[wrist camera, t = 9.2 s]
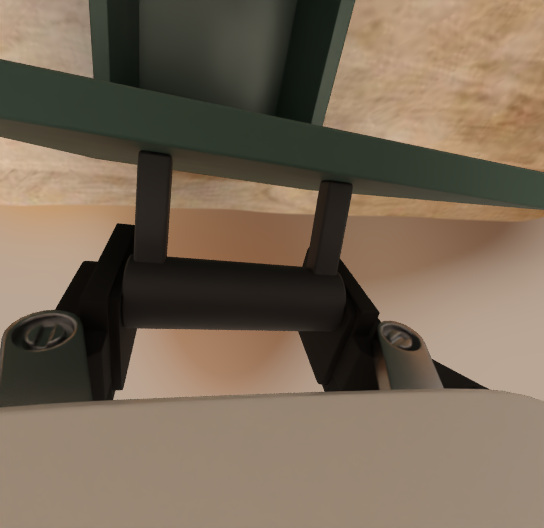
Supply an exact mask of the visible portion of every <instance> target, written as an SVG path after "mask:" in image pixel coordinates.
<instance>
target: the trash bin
mask: <svg viewBox="0 0 544 528" xmlns="http://www.w3.org/2000/svg"><path fill="white" fill-rule="evenodd" d="M354 3H355V0H89V10H90V27H91V44H92V60H93V77H94V79H98V80H103V81H108V82H112V83H117V84H122V85H127V86H132V87H136V88H141V89H146V90H151V91H156V92H160V93H165V94H170V95H175V96H180V97H184V98H189V99H194V100H199V101H204V102H208V103H213V104H218V105H223V106H228V107H232V108H237V109H242V110H247V111H252V112H256V113H261V114H266V115H271V116H276V117H280V118H285V119H290V120H295V121H300V122H304V123H309V124H314V125H319V126H322V125H323V122H324V118H325V114H326V110H327V106H328V103H329V99H330V95H331V91H332V87H333V83H334V80H335V76H336V72H337V68H338V64H339V61H340V57H341V53H342V49H343V45H344V41H345V38H346V34H347V30H348V26H349V22H350V19H351V15H352V11H353V7H354Z"/></svg>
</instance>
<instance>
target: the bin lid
mask: <svg viewBox="0 0 544 528" xmlns="http://www.w3.org/2000/svg"><path fill="white" fill-rule="evenodd" d="M0 137H4V138H8V139H12V140H17V141H21V142H26V143H30V144H34V145H39V146H43V147H47V148H52V149H56V150H61V151H65V152H69V153H74V154H78V155H83V156H87V157H91V158H96V159H102V160H109V161H116V162H122V163H129V164H136V165H138V166H137V190H136V214H135V238H134V254H132V255H130V256H129V258H128V260H127V263H126V266H125V270H124V275H123V281H122V290H121V291H122V297H121V319H122V324H123V326H124V327H125V328H151V329H153V328H154V329H208V330H267V331H325V332H331V331H334V330H336V329H337V328H338V327H339V326H340V324H341V322H342V320H343V317H344V314H345V308H346V290H345V285H344V282H343V279H342V277H341V275H340V274H339V273H338V272H337V270H338V264H339V259H340V253H341V248H342V243H343V238H344V232H345V227H346V221H347V217H348V211H349V206H350V201H351V195H352V194H363V195H375V196H386V197H398V198H410V199H422V200H433V201H445V202H457V203H469V204H480V205H492V206H504V207H516V208H527V209H539V210H544V172H540V171H535V170H530V169H525V168H520V167H516V166H511V165H506V164H501V163H496V162H492V161H487V160H482V159H477V158H472V157H468V156H463V155H458V154H453V153H448V152H444V151H439V150H434V149H429V148H424V147H420V146H415V145H410V144H405V143H400V142H396V141H391V140H386V139H381V138H376V137H372V136H367V135H362V134H357V133H352V132H348V131H343V130H338V129H333V128H328V127H324V126H319V125H314V124H309V123H304V122H300V121H295V120H290V119H285V118H280V117H276V116H271V115H266V114H261V113H256V112H252V111H247V110H242V109H237V108H232V107H228V106H223V105H218V104H213V103H208V102H204V101H199V100H194V99H189V98H184V97H180V96H175V95H170V94H165V93H160V92H156V91H151V90H146V89H141V88H136V87H132V86H127V85H122V84H117V83H112V82H108V81H103V80H98V79H93V78H88V77H84V76H79V75H74V74H69V73H64V72H60V71H55V70H50V69H45V68H40V67H36V66H31V65H26V64H21V63H16V62H12V61H7V60H2V59H0ZM172 170H177V171H183V172H190V173H197V174H204V175H211V176H217V177H224V178H231V179H238V180H245V181H251V182H258V183H265V184H272V185H279V186H285V187H292V188H299V189H306V190H316V191H319V193H318V199H317V206H316V212H315V218H314V224H313V230H312V236H311V242H310V248H309V254H308V260H307V266H306V267H297V266H284V265H270V264H256V263H245V262H231V261H217V260H205V259H191V258H178V257H167V244H168V229H169V213H170V199H171V184H172Z"/></svg>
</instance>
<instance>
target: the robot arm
mask: <svg viewBox="0 0 544 528" xmlns="http://www.w3.org/2000/svg"><path fill="white" fill-rule="evenodd" d="M134 238H135V225H128V224H119V223H118V224H117V225H116V227H115V229H114V231H113V233H112V235H111V237H110V239H109V241H108V243H107V245H106V247H105V249H104V251H103V253H102V255H101V256H100V258H99V261H98V262H94V261H84V262H83V263H82V264H81V266H80V268H79V270H78V271H77V273H76V274H75V276H74V278H73V280H72V282H71V283H70V285H69V287H68V288H67V290H66V292H65V294H64V295H63V297H62V299H61V300H60V302H59V304H58V305H57V307H56V309H55V310H46V311H40V312H36V313H32V314H30V315H27V316H24V317H22V318H20V319H19V320H17V321H15V322H14V323H12V324H11V325H10V326H9V327H8V328H7V329H6V330H5V332H4V334H3V337H2V342H1V348H0V528H544V401H541V400H538V399H535V398H532V397H529V396H525V395H521V394H515V393H510V392H505V391H498V390H489V389H488V388H486V387H483V386H481V385H479V384H478V383H476V382H474V381H472V380H470V379H468V378H467V377H465V376H463V375H461V374H459V373H457V372H455V371H453V370H451V369H450V368H448V367H446V366H444V365H442V364H440V363H438V362H436V361H435V360H433V359H431V356H430V354H429V352H428V349H427V347H426V344H425V342H424V341H423V339H422V337H420V335H419V334H418V333H417V332H415V331H414V330H413V329H411V328H409V327H408V326H406V325H404V324H401V323H398V322H394V321H383V322H380V320H379V319H378V315H379V311H378V310H377V309H376V307H375V306H374V304H373V303H372V302H371V300H370V299H369V298H368V296H367V295H366V294H365V292H364V291H363V289H362V288H361V287H360V285H359V284H358V282H357V281H356V280H355V278H354V277H353V276H352V274H351V273H350V272H349V270H348V269H347V267H346V266H345V265H344V263H343V262H342V261H341V259H339V264H338V270H337V272H338V273H339V274H340V275H341V277H342V279H343V282H344V285H345V290H346V308H345V314H344V317H343V320H342V322H341V324H340V326H339V327H338V328H337V329H336V330H334V331H331V332H325V331H298V332H299V335H300V337H301V340H302V343H303V346H304V348H305V351H306V354H307V356H308V359H309V362H310V364H311V367H312V369H313V372H314V375H315V378H316V380H317V382H318V384H322V386H323V388H324V391H325V392H310V393H309V392H307V393H279V394H255V395H254V394H253V395H225V396H203V397H202V396H201V397H179V398H178V397H177V398H153V399H130V400H129V399H128V400H113V397H114V394H115V390H123V387H124V383H125V378H126V374H127V369H128V365H129V361H130V356H131V352H132V348H133V344H134V339H135V335H136V331H137V328H125V327H124V326H123V324H122V319H121V297H122V291H121V290H122V281H123V275H124V270H125V266H126V263H127V260H128V258H129V256H130V255H132V254H134ZM309 248H310V247H309ZM309 248H308V250H307V253H306V256H305V260H304V263H303V266H302V267H306V266H307V260H308V254H309Z"/></svg>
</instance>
